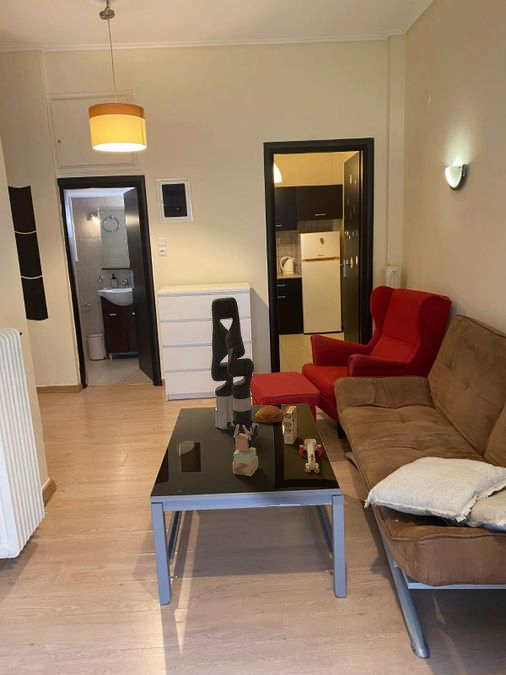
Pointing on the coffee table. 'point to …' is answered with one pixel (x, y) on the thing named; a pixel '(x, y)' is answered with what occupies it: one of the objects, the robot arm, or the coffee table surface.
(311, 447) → the beige elongated piece
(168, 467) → the coffee table surface
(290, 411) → the candy box
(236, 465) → the oak block
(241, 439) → the terracotta cube
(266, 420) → the bread roll
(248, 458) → the sage block
